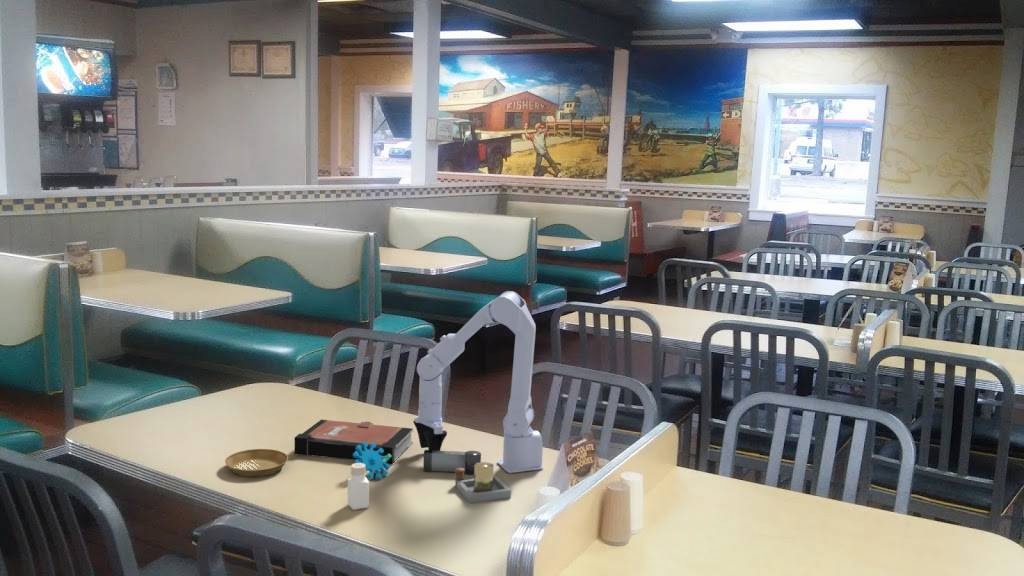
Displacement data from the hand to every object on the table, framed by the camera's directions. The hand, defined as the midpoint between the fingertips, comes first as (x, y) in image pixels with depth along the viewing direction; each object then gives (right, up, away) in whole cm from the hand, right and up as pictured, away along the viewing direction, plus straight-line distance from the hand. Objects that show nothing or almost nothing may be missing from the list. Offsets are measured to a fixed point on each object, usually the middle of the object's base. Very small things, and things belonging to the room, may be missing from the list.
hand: (429, 452), depth 225 cm
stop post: (+9, -5, -17) cm, 20 cm away
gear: (-12, -3, -12) cm, 18 cm away
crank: (+6, -3, -9) cm, 11 cm away
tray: (+15, -5, -21) cm, 26 cm away
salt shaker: (-13, -6, -31) cm, 34 cm away
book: (-20, -1, +5) cm, 21 cm away
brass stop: (+14, -5, -21) cm, 26 cm away
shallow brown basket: (-41, -2, -10) cm, 42 cm away
